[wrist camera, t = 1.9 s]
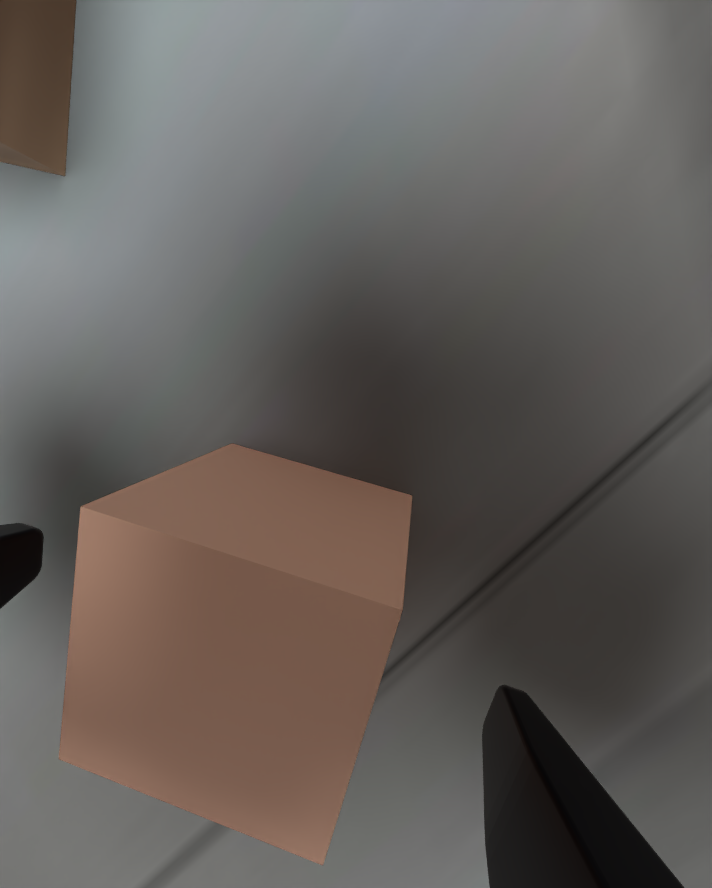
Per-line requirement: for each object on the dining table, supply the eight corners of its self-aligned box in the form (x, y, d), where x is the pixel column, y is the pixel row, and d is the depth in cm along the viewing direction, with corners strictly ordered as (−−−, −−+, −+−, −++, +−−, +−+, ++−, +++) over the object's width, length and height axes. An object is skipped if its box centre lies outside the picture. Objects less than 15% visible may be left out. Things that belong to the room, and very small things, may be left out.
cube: (365, 653, 10) (323, 866, 6) (205, 599, 11) (58, 759, 6) (412, 494, 9) (402, 609, 5) (233, 442, 10) (79, 506, 5)
